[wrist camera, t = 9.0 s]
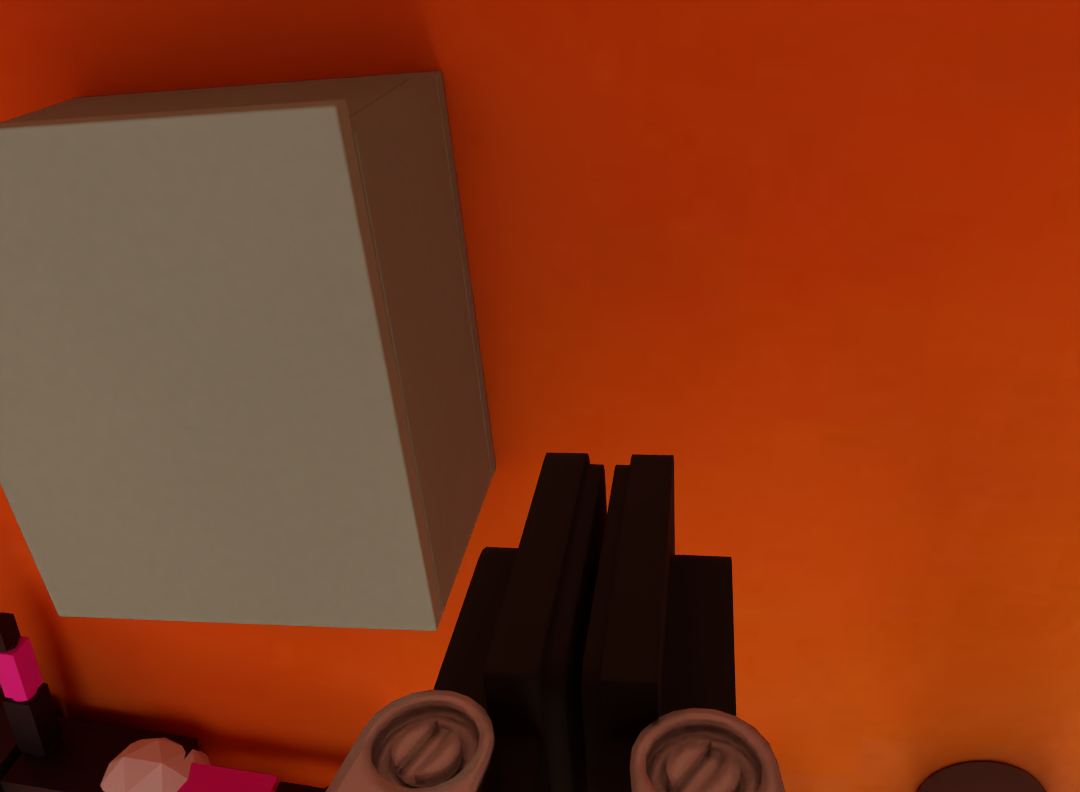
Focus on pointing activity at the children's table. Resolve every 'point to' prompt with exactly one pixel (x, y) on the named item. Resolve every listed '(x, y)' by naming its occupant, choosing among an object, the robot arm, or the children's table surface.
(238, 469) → the lid
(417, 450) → the chest
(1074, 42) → the children's table surface
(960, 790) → the bottle
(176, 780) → the blocky doll
